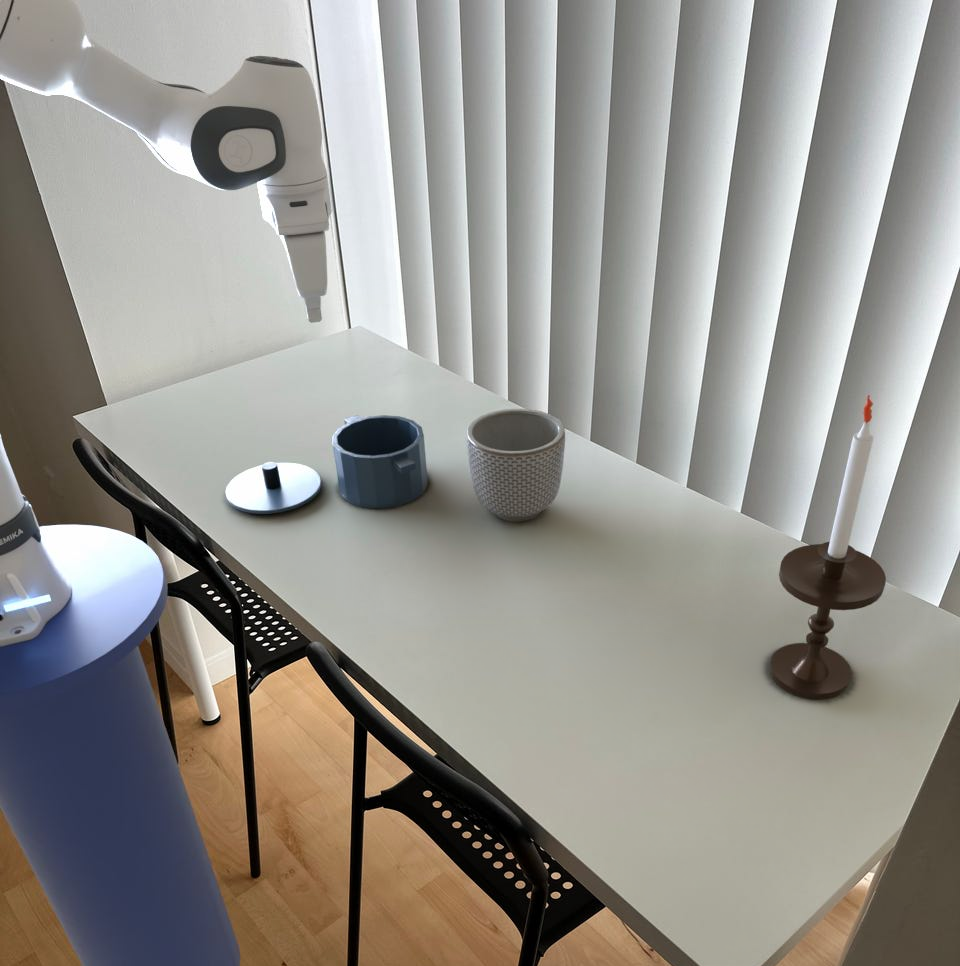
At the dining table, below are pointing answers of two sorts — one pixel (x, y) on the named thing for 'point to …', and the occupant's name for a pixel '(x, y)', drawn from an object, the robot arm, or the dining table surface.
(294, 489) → the lid
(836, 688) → the candlestick
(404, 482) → the pot
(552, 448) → the planter
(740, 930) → the dining table surface
